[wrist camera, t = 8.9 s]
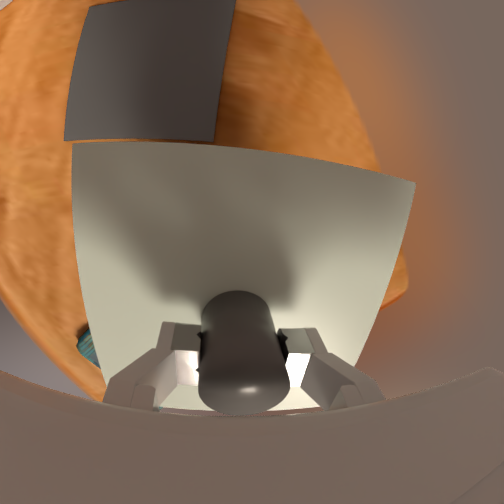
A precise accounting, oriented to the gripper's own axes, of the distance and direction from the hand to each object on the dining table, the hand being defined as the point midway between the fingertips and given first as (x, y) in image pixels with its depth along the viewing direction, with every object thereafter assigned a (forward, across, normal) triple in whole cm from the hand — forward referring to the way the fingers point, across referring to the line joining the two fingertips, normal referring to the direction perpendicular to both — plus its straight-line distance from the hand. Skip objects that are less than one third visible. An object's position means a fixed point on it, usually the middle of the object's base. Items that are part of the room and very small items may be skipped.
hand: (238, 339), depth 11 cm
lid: (+2, 0, 0) cm, 2 cm away
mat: (+19, +10, -15) cm, 26 cm away
